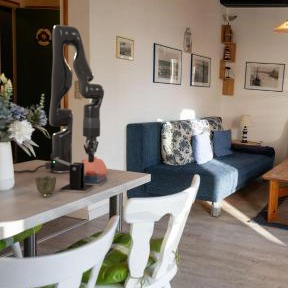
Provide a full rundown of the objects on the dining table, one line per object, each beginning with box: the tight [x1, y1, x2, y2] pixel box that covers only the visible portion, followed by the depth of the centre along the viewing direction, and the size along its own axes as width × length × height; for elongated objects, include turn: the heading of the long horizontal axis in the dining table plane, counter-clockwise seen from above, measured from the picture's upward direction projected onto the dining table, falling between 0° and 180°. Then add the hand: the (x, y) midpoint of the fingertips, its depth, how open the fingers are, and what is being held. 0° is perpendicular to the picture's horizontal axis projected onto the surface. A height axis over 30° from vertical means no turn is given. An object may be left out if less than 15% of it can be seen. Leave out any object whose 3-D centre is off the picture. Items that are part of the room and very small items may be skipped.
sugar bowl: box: [80, 156, 108, 176], centre depth 192 cm, size 12×14×10 cm
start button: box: [86, 171, 95, 176], centre depth 179 cm, size 4×4×2 cm
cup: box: [35, 175, 57, 197], centre depth 153 cm, size 8×7×8 cm
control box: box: [84, 173, 108, 185], centre depth 179 cm, size 12×10×4 cm
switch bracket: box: [59, 161, 94, 192], centre depth 166 cm, size 11×9×12 cm
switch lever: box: [50, 157, 82, 167], centre depth 165 cm, size 12×5×2 cm, turn 92°
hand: (91, 162), depth 179 cm, fingers closed
